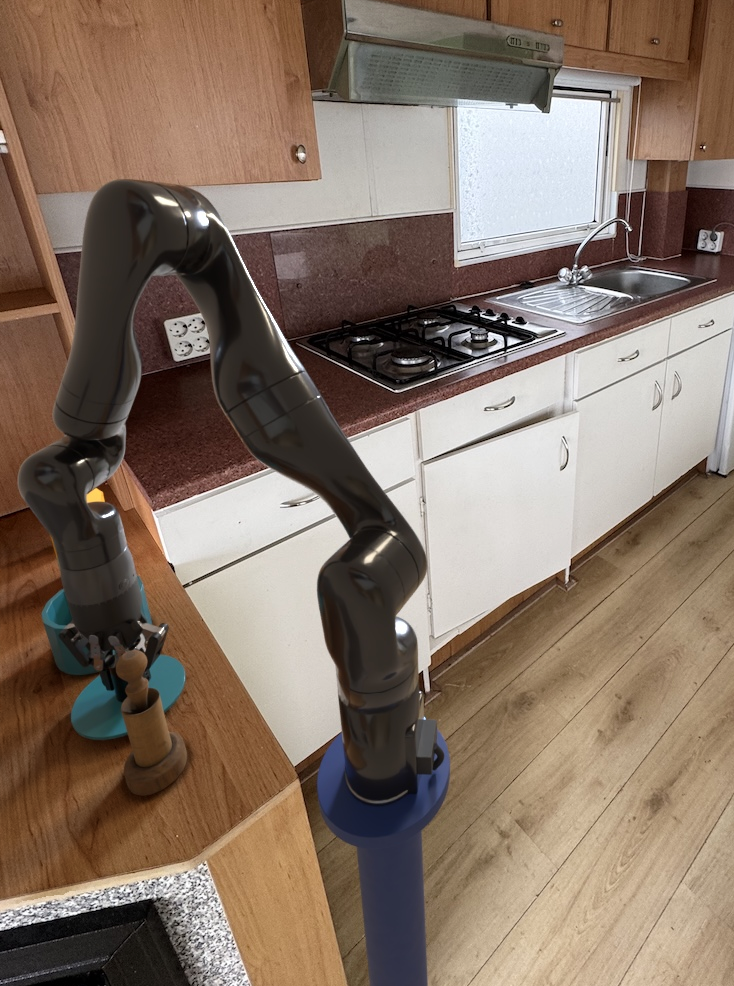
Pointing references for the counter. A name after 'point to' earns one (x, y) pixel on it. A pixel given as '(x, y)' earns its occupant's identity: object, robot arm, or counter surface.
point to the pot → (59, 617)
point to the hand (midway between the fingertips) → (128, 685)
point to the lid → (122, 699)
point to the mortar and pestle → (147, 732)
